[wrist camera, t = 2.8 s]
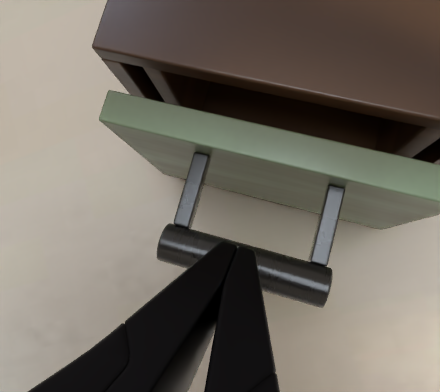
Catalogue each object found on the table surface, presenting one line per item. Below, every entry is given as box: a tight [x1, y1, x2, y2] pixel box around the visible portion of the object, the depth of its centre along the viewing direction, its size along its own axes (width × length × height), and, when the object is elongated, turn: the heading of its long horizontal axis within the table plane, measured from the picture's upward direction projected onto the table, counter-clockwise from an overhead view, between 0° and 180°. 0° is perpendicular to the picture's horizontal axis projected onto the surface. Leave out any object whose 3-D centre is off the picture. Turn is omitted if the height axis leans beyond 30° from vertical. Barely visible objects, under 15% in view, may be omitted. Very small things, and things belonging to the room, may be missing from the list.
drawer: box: [99, 67, 440, 308], centre depth 18 cm, size 18×12×9 cm
